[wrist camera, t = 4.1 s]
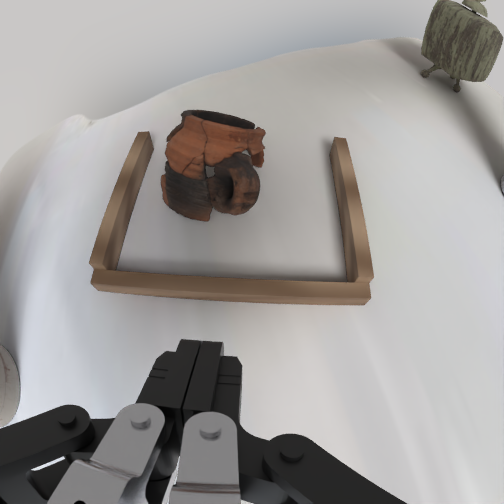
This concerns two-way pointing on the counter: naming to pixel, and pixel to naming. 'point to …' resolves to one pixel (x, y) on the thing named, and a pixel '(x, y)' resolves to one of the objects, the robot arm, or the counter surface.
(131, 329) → the counter surface
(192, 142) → the pottery mug
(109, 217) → the walnut mug dock
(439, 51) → the tabletop clock
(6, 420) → the thermos bottle
